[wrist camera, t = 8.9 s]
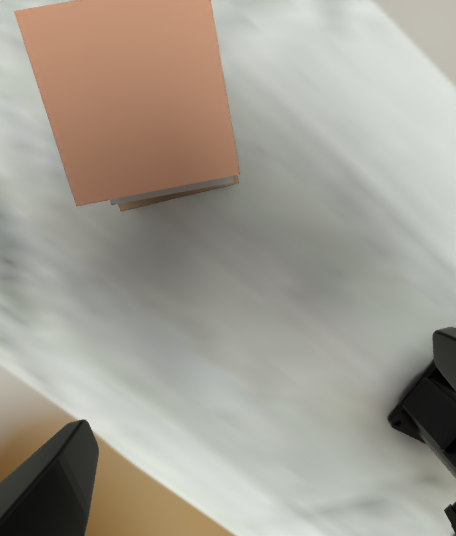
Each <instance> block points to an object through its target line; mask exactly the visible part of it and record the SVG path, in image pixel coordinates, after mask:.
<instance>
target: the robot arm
mask: <svg viewBox="0 0 456 536" xmlns="http://www.w3.org/2000/svg"><path fill="white" fill-rule="evenodd" d="M433 354H434V363H433V364H432V365H431V367H430V368H429V369H428V370H427V372H426V373H425V374H424V375H423V377H422V378H421V379H420V380H419V381H418V383H417V384H416V385H415V386H414V388H413V389H412V390H411V391H410V393H409V394H408V395H407V396H406V397H405V399H404V400H403V401H402V402H401V404H400V405H399V406H398V407H397V409H396V410H395V411H394V412H393V413H392V415H391V416H390V417H389V420H388V421H389V423H390V425H391V426H392V427H393V428H394V429H396V430H398V431H401V432H403V433H405V434H407V435H409V436H411V437H413V438H415V439H417V440H419V441H421V442H423V443H425V444H427V445H428V446H429V447H430V448H431V450H432V451H433V452H434V453H435V454H436V456H437V457H438V458H439V459H440V460H441V462H442V463H443V464H444V465H445V466H446V467H447V469H448V470H449V471H450V472H451V473H452V475H453V476H454V477H455V478H456V328H453V327H447V328H444V329H440V330H436V331H435V332H434V333H433ZM98 456H99V448H98V444H97V441H96V439H95V437H94V434H93V432H92V430H91V427H90V425H89V423H88V422H87V421H86V420H84V419H82V420H78V421H74V422H70V423H68V424H67V425H66V426H64V427H63V428H62V429H61V430H60V431H59V432H57V433H56V434H55V435H54V436H53V437H52V438H51V439H50V440H48V441H47V442H46V443H45V444H44V445H43V446H41V447H40V448H39V449H38V450H37V451H36V452H35V453H33V454H32V455H31V456H30V457H29V458H28V459H27V460H25V461H24V462H23V463H22V464H21V465H20V466H19V467H17V468H16V469H15V470H14V471H13V472H12V473H11V474H10V475H8V476H7V477H6V478H5V479H4V480H3V481H2V482H0V536H84V535H85V531H86V527H87V523H88V518H89V513H90V507H91V501H92V494H93V488H94V481H95V475H96V469H97V462H98ZM444 511H445V513H446V515H447V517H448V519H449V520H450V522H451V524H452V525H451V526H452V528H453V530H454V532H455V533H456V502H455V503H454V504H453V505H451V504H450V505H449V506H448V507H447V508H446V509H445V510H444Z"/></svg>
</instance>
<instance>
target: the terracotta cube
mask: <svg viewBox="0 0 456 536" xmlns="http://www.w3.org/2000/svg"><path fill="white" fill-rule="evenodd" d="M14 13H15V16H16V19H17V22H18V25H19V28H20V31H21V35H22V38H23V41H24V44H25V47H26V50H27V53H28V56H29V60H30V63H31V66H32V69H33V72H34V75H35V78H36V81H37V84H38V88H39V91H40V94H41V97H42V100H43V103H44V106H45V109H46V113H47V116H48V119H49V122H50V125H51V128H52V131H53V134H54V138H55V141H56V144H57V147H58V150H59V153H60V156H61V159H62V163H63V166H64V169H65V172H66V175H67V178H68V181H69V184H70V188H71V191H72V194H73V197H74V200H75V203H76V206H81V205H86V204H91V203H96V202H101V201H106V200H111V199H117V198H122V197H127V196H132V195H137V194H142V193H147V192H152V191H157V190H163V189H168V188H173V187H178V186H183V185H188V184H193V183H198V182H203V181H208V180H214V179H219V178H224V177H229V176H234V175H239V174H240V172H239V166H238V160H237V154H236V148H235V142H234V136H233V130H232V124H231V118H230V112H229V106H228V100H227V95H226V89H225V83H224V77H223V71H222V65H221V59H220V53H219V47H218V41H217V35H216V29H215V23H214V17H213V11H212V5H211V0H76V1H70V2H64V3H59V4H53V5H47V6H41V7H35V8H29V9H24V10H18V11H14Z"/></svg>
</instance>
